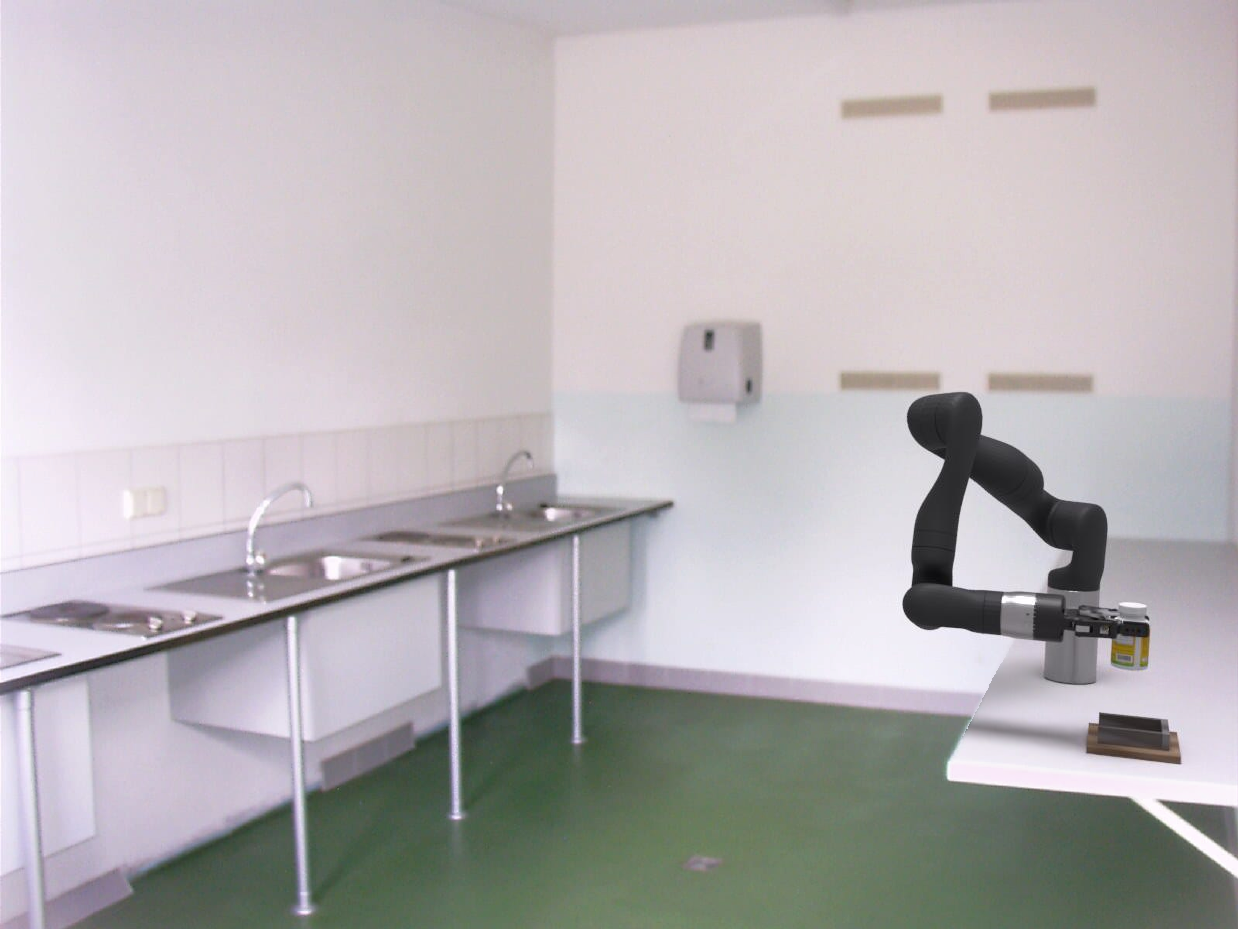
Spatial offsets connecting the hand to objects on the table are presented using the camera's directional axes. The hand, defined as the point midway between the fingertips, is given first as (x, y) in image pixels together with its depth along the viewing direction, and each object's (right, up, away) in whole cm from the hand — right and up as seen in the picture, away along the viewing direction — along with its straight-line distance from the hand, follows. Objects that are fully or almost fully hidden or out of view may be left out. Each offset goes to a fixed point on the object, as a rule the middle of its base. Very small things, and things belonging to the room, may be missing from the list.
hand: (1148, 626), depth 193 cm
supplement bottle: (-2, -7, +2) cm, 7 cm away
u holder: (-2, -19, +2) cm, 19 cm away
